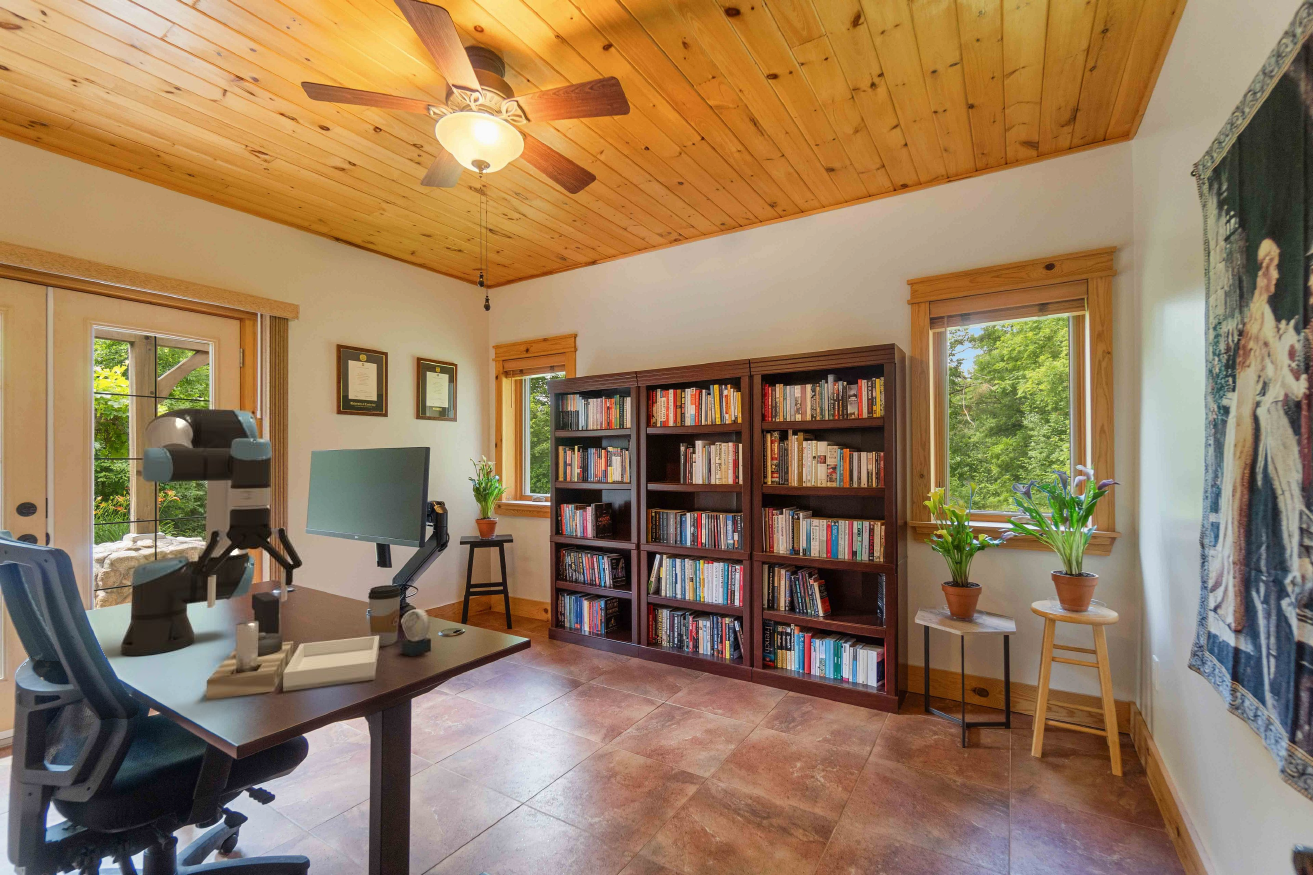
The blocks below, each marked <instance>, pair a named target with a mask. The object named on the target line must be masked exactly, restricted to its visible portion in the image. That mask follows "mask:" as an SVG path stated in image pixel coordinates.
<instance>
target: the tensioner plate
mask: <svg viewBox="0 0 1313 875" xmlns="http://www.w3.org/2000/svg"><path fill="white" fill-rule="evenodd" d="M293 656H294V641H287V642H286V641H283V635H282V634H281V633H280V634H274V633H271V634H266V633H258V668H257V671H253V672H245V673H237V674H236V648H235V649H234V650H233V651H232V652H231V653H230V655H229V656H228V657H227V658H226V659H225V660H223V662H222V663H221V665H219V666H218V667H217V669H216V670H215V671H214V672H213V673H212V674H211V675H210V676H209V678H207V680H206V695H205V696H206V698H205V700H206V701H207V700H216V699H217V700H218V699H223V698H225V699H226V698H230V697H238V696H239V697H240V696H246V695H248V696H249V695H255V694H262V693H268V692H269V693H270V692H274V690H276V689H275V688H276V687H277V685H278V684H279V683H280V681H281V679H282V677H283V673H284V671H285V669H286V668H287V666H288V664H289V662H290V661H291V659H292V657H293Z"/></svg>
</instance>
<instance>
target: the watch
mask: <svg viewBox="0 0 1313 875" xmlns="http://www.w3.org/2000/svg"><path fill="white" fill-rule="evenodd" d="M420 619H421V624H422V626H421V627H420V631H419V633H418V636H417V635H416V633H415V632H414V629H413V628H414V627H415V626H416V624H417V622H418V621H419V620H420ZM400 623H401V625H402V630H403V631H404V634H405V636H406V638H407V640H404V641H401V654H402V655H404V654H405V655H404V656H408V655H409V657H412V658H413V656H414V657H415V656H416V655H417V656H419V655H418V654H420V655H422V654H421V653H423V654H425V653H424V652H426V653H428V651H429V652H431V650H432V638H428V634H429V632H430V628H431V625H430V617H429V615H428V612H426V610H424V609H423V608H418V609H411V610H409V611H408V612H406V613H405V614H404V615H403V616H402V618H401V620H400Z"/></svg>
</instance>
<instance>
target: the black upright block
mask: <svg viewBox="0 0 1313 875" xmlns="http://www.w3.org/2000/svg"><path fill="white" fill-rule="evenodd" d="M251 609H252V610H253V612H254V613H253V616H254V617H253V618H254V619H253V621H258V622H259V623H258V633H266V634H271V633H274V634H281V632H282V627H281V626H282V624H281V623H282V616H281V598H280V597H278V596H276V595H274V594H272V593H270V592H268V591H264V592H258V593H253V594H252V595H251Z"/></svg>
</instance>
